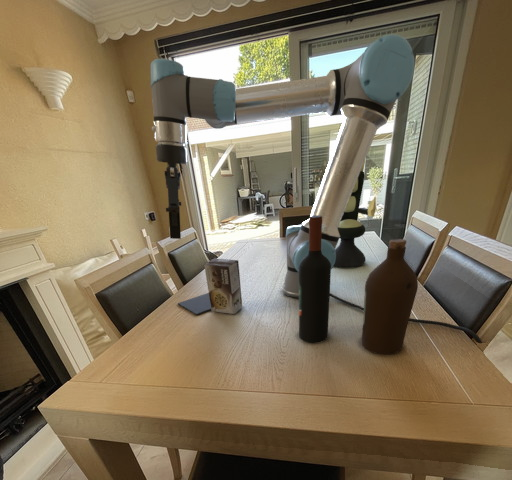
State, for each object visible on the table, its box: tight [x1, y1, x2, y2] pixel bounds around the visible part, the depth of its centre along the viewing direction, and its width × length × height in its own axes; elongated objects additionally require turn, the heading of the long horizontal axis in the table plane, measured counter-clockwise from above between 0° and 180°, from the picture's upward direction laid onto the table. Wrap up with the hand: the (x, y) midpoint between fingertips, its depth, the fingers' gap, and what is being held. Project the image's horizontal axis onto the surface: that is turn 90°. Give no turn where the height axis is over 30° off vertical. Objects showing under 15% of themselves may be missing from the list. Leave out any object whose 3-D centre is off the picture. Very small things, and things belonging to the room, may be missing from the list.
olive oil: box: [361, 238, 419, 355], centre depth 66 cm, size 11×11×25 cm
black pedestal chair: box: [333, 160, 377, 269], centre depth 122 cm, size 19×22×45 cm
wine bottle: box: [298, 216, 332, 344], centre depth 71 cm, size 8×8×30 cm
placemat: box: [177, 292, 211, 316], centre depth 105 cm, size 14×17×1 cm
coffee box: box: [203, 257, 243, 315], centre depth 94 cm, size 9×6×16 cm
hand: (175, 233), depth 83 cm, fingers open, 13 cm apart
